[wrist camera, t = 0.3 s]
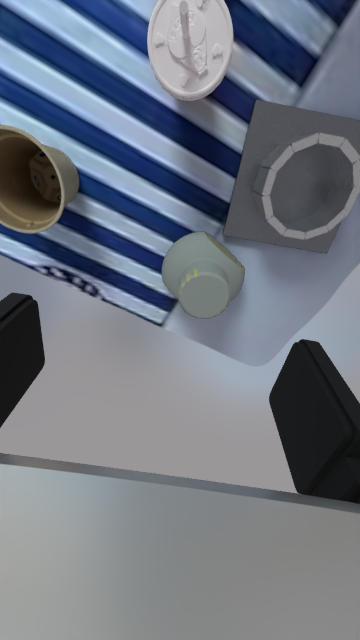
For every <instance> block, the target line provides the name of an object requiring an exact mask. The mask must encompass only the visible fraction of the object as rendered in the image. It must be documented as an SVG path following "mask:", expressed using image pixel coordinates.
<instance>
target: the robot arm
mask: <svg viewBox="0 0 360 640" xmlns="http://www.w3.org/2000/svg"><path fill="white" fill-rule="evenodd" d="M44 363H45V356H44V349H43V341H42V333H41V326H40V317H39V309H38V304H37V301H36V300H33V298H32V296H30V295H25V294H19V293H11V294H9V295H8V296H7V297H5V298H4V299H3V300H1V301H0V427H1V426H2V425H3V423H4V422H5V420H6V419H7V417H8V416H9V415H10V413H11V412H12V411H13V409H14V408H15V406H16V405H17V403H18V402H19V401H20V399H21V398H22V396H23V395H24V394H25V392H26V391H27V389H28V388H29V386H30V385H31V384H32V382H33V381H34V380H35V378H36V377H37V375H38V374H39V373H40V371H41V370H42V368H43V366H44ZM269 402H270V406H271V409H272V412H273V415H274V418H275V422H276V425H277V429H278V432H279V436H280V439H281V442H282V445H283V449H284V452H285V455H286V459H287V462H288V465H289V469H290V472H291V475H292V478H293V482H294V485H295V488H296V490H297V492H298V493H299V494H296V493H290V492H282V491H276V490H269V489H262V488H254V487H248V486H240V485H233V484H226V483H219V482H212V481H205V480H197V479H190V478H183V477H175V476H169V475H161V474H153V473H147V472H139V471H132V470H124V469H117V468H110V467H102V466H95V465H88V464H80V463H72V462H64V461H57V460H49V459H42V458H34V457H26V456H18V455H10V454H3V453H0V640H360V403H359V402H358V401H357V399H356V397H355V396H354V394H353V393H352V391H351V390H350V388H349V387H348V386H347V384H346V382H345V381H344V380H343V378H342V377H341V375H340V373H339V372H338V370H337V369H336V367H335V366H334V364H333V363H332V361H331V360H330V358H329V357H328V355H327V354H326V352H325V351H324V349H323V348H322V346H321V345H320V343H318V342H316V341H310V340H304V339H302V340H300V341H299V342H295V343H294V344H293V346H292V348H291V350H290V352H289V354H288V356H287V359H286V361H285V363H284V365H283V367H282V369H281V372H280V373H279V376H278V378H277V380H276V382H275V384H274V386H273V388H272V391H271V393H270V396H269Z"/></svg>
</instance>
